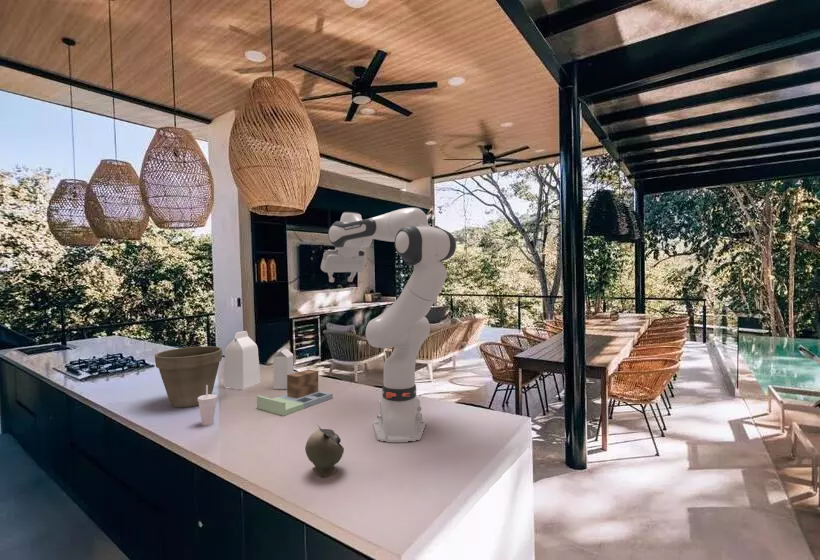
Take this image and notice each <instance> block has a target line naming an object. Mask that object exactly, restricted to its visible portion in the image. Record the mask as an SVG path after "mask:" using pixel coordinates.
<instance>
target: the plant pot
mask: <svg viewBox="0 0 820 560" xmlns="http://www.w3.org/2000/svg"><path fill="white" fill-rule="evenodd" d="M222 360H223V348H222V347H220V346H211V345H206V346H205V345H204V346H203V345H202V346H192V347H191V346H190V347H189V346H187V347H180V348H174V349H167V350H164V351H163V350H162V351H161V352H157V353H156V354H155V355H154V362H155V367H156V368H157V369H158V370H159V374H160V377H161V380H162V382H163V383H162V384H163V385H164V389H165V392H166V394H167V398H168V401H169V403H170V405H171V406H172V407H174V408H189V407H190V408H191V407H196V406H199V402H198V401H197V400H198V397H200V396H202V395H206V385H208V394H213V391H214V387H215V383H216V378H217V374H218V370H219V365H220V362H221V361H222Z"/></svg>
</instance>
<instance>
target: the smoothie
mask: <svg viewBox="0 0 820 560" xmlns="http://www.w3.org/2000/svg"><path fill="white" fill-rule="evenodd" d="M217 399H218V395H217V394H214V393H212V394H208V385H206V395H202V396H200V397H198V400H197V401H198V402H199V405H198V408H199V413H200V414H199V415H200V421H201V425H202V426H210V425H214V421H215V412H216V403H217Z"/></svg>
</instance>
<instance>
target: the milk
mask: <svg viewBox="0 0 820 560" xmlns="http://www.w3.org/2000/svg"><path fill="white" fill-rule="evenodd" d="M259 358H260V357H259V348H258V345H257V343H256V342H255V341H254V340H253V339H252V338H251V337H250V336H249V334H248V331H247V330H243V331H238V332H235V335H234V338H233V339H232V340H231V342H230V343H228V344H227V345H226V347H225V348H224V358H223V359H224V361H223V362H224V363H223V364H224V365H223V366H224V367H223V387H230V388H239V389H245V388H247V387H250V386H252V387H254V386H253V385H255V384H258V383H260V384H261V374H260V373H261V371H260V360H259ZM258 385H259V384H258ZM255 386H256V385H255ZM250 388H251V387H250ZM247 389H248V388H247ZM245 390H246V389H245Z"/></svg>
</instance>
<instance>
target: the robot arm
mask: <svg viewBox="0 0 820 560" xmlns="http://www.w3.org/2000/svg"><path fill="white" fill-rule="evenodd" d="M327 234H328V235H327V237H328V240H329V241H330V243H331V244H332V246H333V247H334V249H327V250H325V251H324V252H323V256H322V260H321V263H320V270H321V271H322V272H323V273H327V275H328V282H329V283H334V282H335V279H336V278H335V277H333V275H334V273H350V276H347V282H349V283H351V282H353V280H354V278H355V276H356V275H357V273H362V272H364V271H365V266H366V255H367V252H366V251H365V250H363V249H369V247H371V246H372V245H373V243H374V240H377V241H384V242H391V243H394V248H395V250H396V252H397V254H398V255H399V257H400V258H401V259H402V260H404V262H405V264H406V265H407V266H409V267H411V266H413V271H412V272H411V275H410V277H409V279H408V280H407V282H406V284H405V286H404V287H403V289H402V291H401V293H400V294H399V296H398V297H397V299H395V301H393V303H392V304H391V305H390V306H389V307H388V308H387V309H386V310H385V311H383V312H381V314H379V315H378V316H376V317H374V318H373V319H371V320H369V321H368V322H367V325H366V328H365V338H366V340H367V343H369V345H370V346H371V347H373V348H378V349H379V348H380V349H390V348H393V351H392V352H391V354H390V356H388V358H387V359H386V360H385V361H384V363H383V384H382V388H381V393H382V395H381V396H382V397H381V398H380V399H379V400H378V409H377V410H378V414H377V416H376V417H377V419H376V420H374V421H372V427H373V429H374V432H375V436H376V438H377V440H378V441H379V440H380V442H383V441H386V442H385V443H409V442H408V441H413V442H416V440H418V441H420V440H421V439H422V437H423V435H424V432H425V429H426V426H427V421H426V420H424V419H423V414H422V413H421V412H422V406H421V400H420V399H419V398H418V397H417V385H416V376H415V375H416V363H417V357H418V355H419V352H420V349H421V347H422V346H423V343H425V341H426V340H427V339H428V338H429V336H430V332H431V324H430V322H429V319H428V318H427V315H428V313H429V312H430V311H431V308H432V307H433V305H434V303H435V302H436V301H437V298H438V297H439V295H440V294H441V291H442V289H443V287H444V285H445V282H446V279H447V276H448V275H447V274H448V271H447V268H446V267H445V265H444V264H443V263H442V262H443V261H446V260H449V259H450V258H452V257H453V256H454V254H455V252H456V250H457V242H456V238H455V236H454V235H453V234H452V233H451V232H449V231H448V230H446V229H444V228H441V227H439V226H438V225H434V226H431V225H430V224H429V221H428V217H427V214H426V213H425V211H423V210H422V209H420V208H419V207H406V208H405V207H404V208H399V209H396V210H392V211H390V212H386V213H384V214H380V215H377V216H373V217H370V218H366V219H363V218H362V215H361V214H360V213H359V212H353V211H352V212H351V211H344V212H342V214H341V216H340V220H336V221H334V223H332V225H331V226H330V227H329V228H328V232H327ZM425 425H426V426H425ZM424 428H425V429H424ZM423 431H424V432H423ZM422 434H423V435H422Z"/></svg>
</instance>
